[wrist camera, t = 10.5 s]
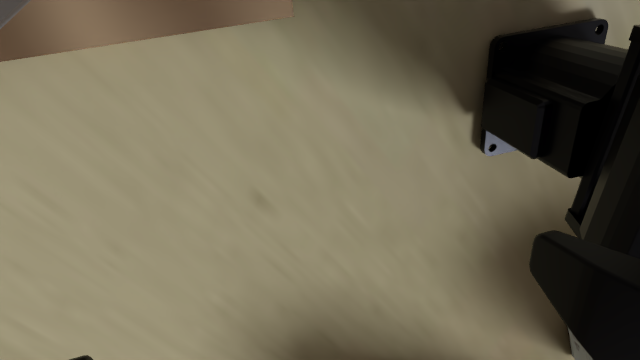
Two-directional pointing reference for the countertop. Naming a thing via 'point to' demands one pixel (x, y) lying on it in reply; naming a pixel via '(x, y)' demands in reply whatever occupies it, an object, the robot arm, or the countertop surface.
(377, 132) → the countertop surface
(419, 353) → the countertop surface
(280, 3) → the gear board
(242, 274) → the countertop surface
